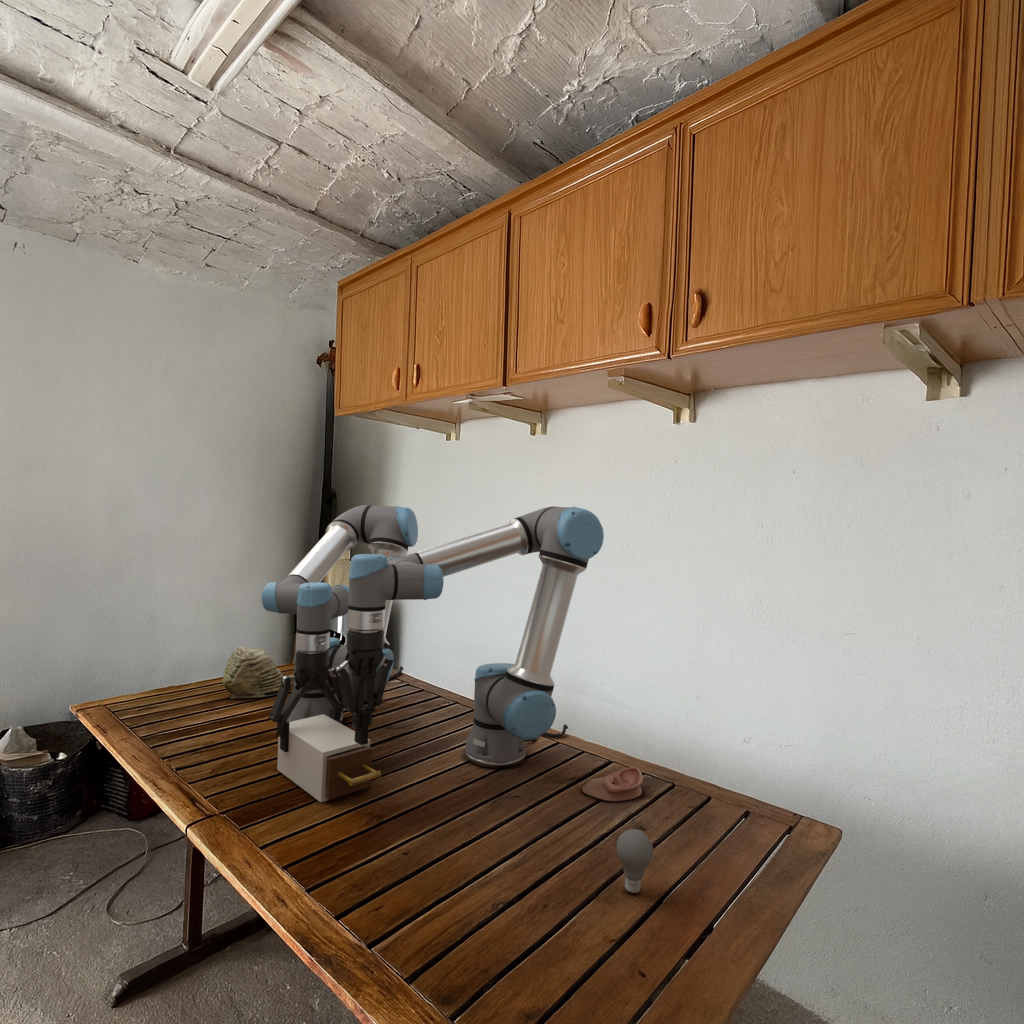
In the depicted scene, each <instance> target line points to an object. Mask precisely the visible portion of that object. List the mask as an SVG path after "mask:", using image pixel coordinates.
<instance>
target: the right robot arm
mask: <svg viewBox="0 0 1024 1024" xmlns="http://www.w3.org/2000/svg"><path fill="white" fill-rule="evenodd" d="M604 537H605V533H604V528H603V524H602V523H601V521H600V519H599V518H598V516H597V515H596V514H594V513H593V512H592V511H590V510H588V509H585V508H581V507H577V506H570V507H569V506H553V505H552V506H547V507H543V508H540V509H537V510H534V511H532V512H528V513H526V514H523V515H520V516H518V517H514V518H511V519H510V521H509V522H508V524H505V525H501V526H499V527H495V528H491V529H489V530H485V531H482V532H479V533H475V534H472V535H469V536H466V537H465V536H464V537H462V538H459V539H456V540H455V539H454V540H452V541H449V542H446V543H442V544H439V545H436V546H433V547H429V548H426V549H422V550H419V551H416V552H413V553H409V554H406V555H405V556H403V557H400V556H395V557H390V558H388V559H387V557H386V556H385V555H379V554H372V553H359V554H355V555H353V556H352V557H351V559H350V565H349V573H348V587H349V603H348V613H347V621H346V627H347V628H348V630H347V632H346V644H347V655H346V657H345V661H344V662H343V663H342V664H341V665H340V666H335V667H334V671H335V672H336V674H337V676H338V678H339V684H340V689H341V695H342V700H343V705H344V707H343V708H344V709H343V710H346V711H347V712H349V713H351V714H352V716H351V717H352V718H351V720H352V721H351V725H352V728H353V729H354V731H355V742H357V743H358V744H360V745H365V744H368V739H369V728H370V726H372V723H373V713H374V712H376V708H377V707H380V706H381V705H382V701H383V699H384V698H383V697H384V693H385V689H386V685H387V684H386V681H387V677H388V672H389V670H390V668H391V666H392V664H393V661H394V659H393V660H391V659H388V658H386V657H385V656H384V653H383V650H382V648H383V646H384V631H383V630H382V628H383V627H384V623H385V603H386V600H393V601H401V600H402V601H403V600H404V601H406V600H407V601H408V600H409V601H410V600H412V601H413V600H415V601H417V600H423V601H426V600H435V599H438V598H440V597H441V595H442V593H443V590H444V583H445V581H444V578H445V577H448V576H450V575H451V576H452V575H454V574H457V573H461V572H463V571H466V570H469V569H472V568H476V567H478V566H482V565H485V564H489V563H491V562H495V561H498V560H500V559H503V558H507V557H510V556H513V555H515V554H518V555H520V556H526V555H529V554H534V553H539V554H538V559H539V560H540V561H541V564H542V565H541V566H542V567H541V570H540V574H539V577H538V581H537V584H536V588H535V591H534V594H533V599H532V602H531V606H530V610H529V613H528V616H527V620H526V623H525V628H524V631H523V634H522V638H521V642H520V646H519V649H518V652H517V656H516V659H515V663H511V662H495V663H493V662H492V663H485V664H481V665H479V666H477V668H476V669H475V677H474V693H473V694H474V695H473V722H472V723H473V724H472V727H471V730H470V732H469V734H468V738H467V740H466V743H465V746H464V747H465V748H464V757H465V759H466V760H467V761H468V762H469V763H472V764H473V765H475V766H478V767H483V768H489V769H505V768H512V767H515V766H519V765H520V764H522V763H523V762H524V761H525V759H526V752H527V751H526V745H525V743H527V742H528V743H529V742H534V741H536V740H537V739H538V738H540V737H541V736H545V737H549V738H561V737H563V736H565V734H566V732H567V730H569V726H568V725H567V724H566V723H564V724H563V726H562V731H561V732H560V733H562V734H560V733H551V732H548V731H549V730H550V729H551V728H552V726H553V724H554V722H555V720H556V716H557V706H556V703H555V701H554V699H553V697H552V696H553V692H554V688H555V685H556V683H555V681H554V679H553V677H552V671H553V667H554V664H555V660H556V656H557V652H558V649H559V645H560V642H561V638H562V634H563V630H564V627H565V623H566V620H567V616H568V613H569V609H570V605H571V601H572V598H573V594H574V591H575V587H576V584H577V579H578V576H580V574H581V573H583V572H585V571H586V570H587V568H588V564H589V561H590V559H592V558H593V557H594V556H595V555H598V553H599V552H600V551H601V549H602V547H603V544H604ZM393 665H394V664H393ZM378 666H379V667H378ZM377 667H378V670H377ZM348 668H350V670H351V671H352V678H353V685H352V688H351V682H350V677H349V675H348V673H349V669H348ZM376 672H377V674H376Z"/></svg>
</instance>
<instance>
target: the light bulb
mask: <svg viewBox="0 0 1024 1024" xmlns="http://www.w3.org/2000/svg"><path fill="white" fill-rule="evenodd" d="M615 849H616V854H617V857H618V859H619V861H620V863H621V865H622V867H623V873H624V874H623V875H624V876H625V878H624V888H625V890H627V891H628V892H630V893H634V894H635V893H639V892H640V891H641V889H642V887H641V886H642V879H643V877H644V875H645V871H646V868H647V867H648V866H649V864H650V863H651V861H652V859H653V855H654V847H653V843H652V841H651V838H649V836H648V835H647V834H646V833H645V832H643V831H642V830H641V829H636V828H629V829H627V830H625V831H623V832H622V833H621V834H620V835H619V837H618V839H617V841H616V847H615Z"/></svg>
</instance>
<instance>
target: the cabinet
mask: <svg viewBox="0 0 1024 1024" xmlns="http://www.w3.org/2000/svg"><path fill="white" fill-rule="evenodd" d="M289 723H290V725H289V750H288V752H284V751H282V750H281V749H280V737H279V736H278V735H277V761H276V763H277V764H276V765H277V766H276V770H277V771H278V772H280V773H281V774H282V775H283V776H285V777H286V778H288V779H289V780H290V781H292V782H293V783H294V784H296V785H297V786H298V787H300V788H301V789H302V790H304V791H305V792H306V793H307V794H309V795H310V796H311V797H313V798H314V799H315V800H316V801H318V802H320V803H325V802H327V801H328V800H327V799H326V774H327V756H330V755H334V754H337V753H341V752H344V751H348V750H351V749H355V748H359V747H362V748H365V747H368V746H370V747H371V739H370V738H368V744H365V745H360V744H358V743H357V742H355V730H353V729H352V728H350V727H348V726H346V725H344V724H342V723H339V722H337V721H335V720H333V719H331V718H330V717H328V716H326V715H324V714H323V715H318V716H314V717H309V718H305V719H301V720H296V721H292V722H289Z"/></svg>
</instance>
